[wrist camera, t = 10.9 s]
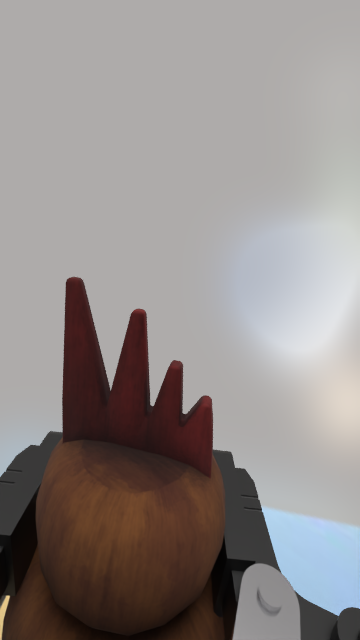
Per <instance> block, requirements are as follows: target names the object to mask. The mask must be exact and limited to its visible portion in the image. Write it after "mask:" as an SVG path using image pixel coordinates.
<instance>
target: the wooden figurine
mask: <svg viewBox="0 0 360 640" xmlns="http://www.w3.org/2000/svg"><path fill="white" fill-rule="evenodd" d="M64 332H65V334H64V367H63V398H62V399H63V401H62V403H63V404H62V405H63V437H62V438H61V440H60V441H59V442H58V444H57V445H56V447H55V448H54V449H53V451H52V452H51V455H50V458H49V460H48V463H47V466H46V468H45V471H44V475H43V478H42V482H41V485H40V489H39V492H38V496H37V500H36V529H37V539H38V545H37V547H36V550H35V553H34V556H33V558H32V561H31V564H30V566H29V569H28V571H27V573H26V575H25V577H24V579H23V582H22V584H21V586H20V588H19V590H18V592H17V595H16V596H10V598H9V601H8V605H7V609H6V612H5V616H4V620H3V630H2V640H224V638H225V633H224V624H223V617H218V616H217V615H216V614H215V613H214V611H213V595H212V582H211V571H212V569H213V566H214V564H215V561H216V559H217V557H218V554H219V552H220V550H221V547H222V543H223V536H224V529H225V489H224V484H223V479H222V474H221V471H220V469H219V467H218V465H217V462H216V460H215V458H214V456H213V413H212V399H211V398H210V397H209V396H202V397H201V398H200V399H199V400H198V402H197V403H196V404H195V405H194V406H193V407H192V408H191V410H190V411H189V412H188V413H187V414H183V413H182V400H183V395H182V394H183V364H182V363H181V362H180V361H176V360H174V361H172V362H171V364H170V366H169V368H168V370H167V373H166V376H165V378H164V381H163V383H162V386H161V389H160V392H159V394H158V397H157V399H156V402H155V405H154V406H151V405H150V388H149V363H148V340H147V317H146V312H145V311H144V310H143V309H136V310H134V311H133V312H132V313H131V316H130V321H129V324H128V328H127V332H126V335H125V339H124V343H123V347H122V351H121V354H120V358H119V363H118V366H117V370H116V374H115V377H114V381H113V385H112V389H111V391H110V387H109V382H108V378H107V375H106V370H105V367H104V362H103V358H102V354H101V350H100V346H99V342H98V338H97V334H96V330H95V326H94V322H93V318H92V314H91V310H90V306H89V302H88V298H87V294H86V290H85V286H84V282H83V280H82V279H81V278H77V277H71V278H69V279H67V282H66V298H65V331H64Z"/></svg>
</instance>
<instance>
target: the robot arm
mask: <svg viewBox="0 0 360 640" xmlns="http://www.w3.org/2000/svg"><path fill="white" fill-rule="evenodd" d="M62 437H63V433H62V432H53V431H50V432H49V433H48V434H47V436H46V437H45V438H44V440H43V442H42V443H41V444H40V446H36V445H30V446H29V447H28V448H26V449H25V450H24V451H22V452H21V453H20V454H18V455H17V456H16V457H15V459H14V460H13V461H12V463H11V464H10V465H9V466H8V468H7V470H6V472H4V473H3V474H2V476H1V477H0V600H1V598H2V596H3V595H6V596H16V595H17V592H18V590H19V588H20V586H21V584H22V582H23V579H24V577H25V575H26V573H27V571H28V569H29V566H30V564H31V561H32V558H33V556H34V553H35V550H36V547H37V545H38V539H37V529H36V500H37V496H38V492H39V489H40V485H41V482H42V478H43V475H44V471H45V468H46V466H47V463H48V460H49V458H50V455H51V452H52V451H53V449H54V448H55V447H56V445H57V444H58V442H59V441H60V440H61V438H62ZM213 456H214V458H215V460H216V462H217V465H218V467H219V469H220V471H221V474H222V479H223V484H224V489H225V529H224V536H223V543H222V547H221V550H220V552H219V554H218V557H217V559H216V561H215V564H214V566H213V569H212V571H211V582H212V595H213V611H214V613H215V614H216V615H217V616H218V617H223V624H224V633H225V638H224V640H360V609H359V608H353V607H351V608H346V609H344V610H343V611H342V612H341V613H340V615H339V616H337V615H335V614H333V613H331V612H329V611H327V610H325V609H323V608H321V607H319V606H317V605H315V604H313V603H311V602H309V601H307V600H306V599H304V598H303V597H301V596H300V595H299V594H298V593H297V592H296V591H294V589H293V587H292V586H291V584H290V583H289V581H288V580H287V579H286V578H285V576H284V575H283V574H282V573H281V571H280V569H279V566H278V564H277V560H276V557H275V553H274V550H273V546H272V543H271V539H270V536H269V532H268V529H267V525H266V522H265V518H264V515H263V512H262V508H261V505H260V501H259V500H258V494H257V491H256V487H255V484H254V481H253V480H252V479H251V477H250V475H249V474H248V473H247V471H246V470H245V469H241V468H235V466H234V461H233V456H232V454H231V452H228V451H220V450H213Z"/></svg>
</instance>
